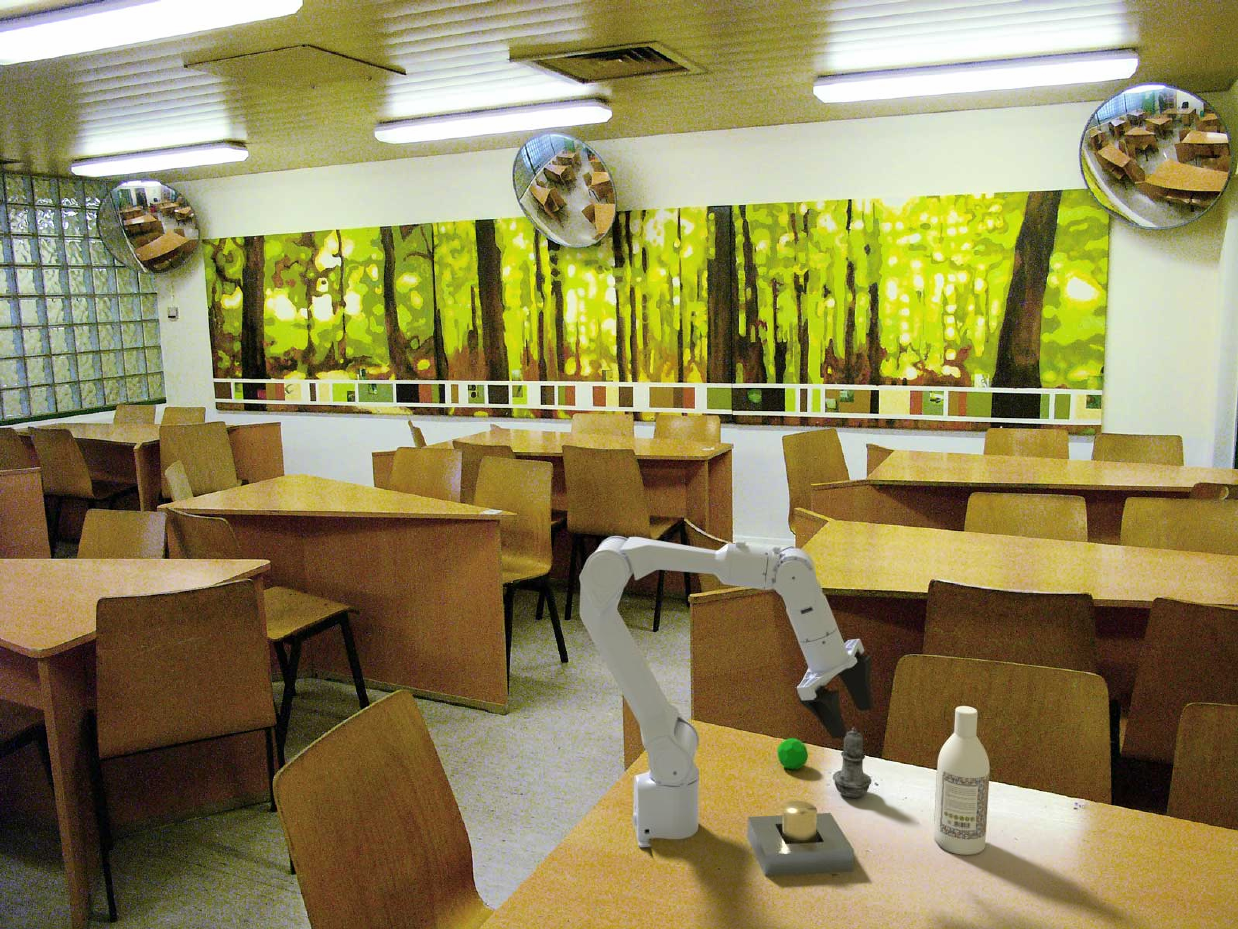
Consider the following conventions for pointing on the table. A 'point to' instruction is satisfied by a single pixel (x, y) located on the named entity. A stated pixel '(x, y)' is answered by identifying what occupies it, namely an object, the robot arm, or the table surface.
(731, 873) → the table surface
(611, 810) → the table surface
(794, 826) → the plug
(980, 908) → the table surface
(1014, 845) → the table surface
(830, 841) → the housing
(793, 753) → the polyhedron
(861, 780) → the grey chess piece
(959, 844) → the bath foam
